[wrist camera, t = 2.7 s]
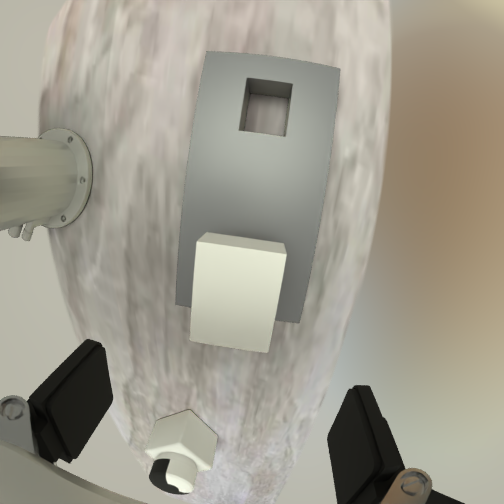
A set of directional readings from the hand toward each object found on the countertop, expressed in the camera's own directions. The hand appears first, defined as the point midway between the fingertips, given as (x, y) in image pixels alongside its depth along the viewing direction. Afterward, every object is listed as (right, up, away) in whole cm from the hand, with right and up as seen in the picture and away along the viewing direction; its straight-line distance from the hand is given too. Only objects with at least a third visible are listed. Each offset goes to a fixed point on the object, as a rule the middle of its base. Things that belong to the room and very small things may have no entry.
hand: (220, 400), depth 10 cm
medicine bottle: (-9, -22, +29) cm, 37 cm away
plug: (0, +4, +16) cm, 17 cm away
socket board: (+2, +12, +19) cm, 23 cm away
